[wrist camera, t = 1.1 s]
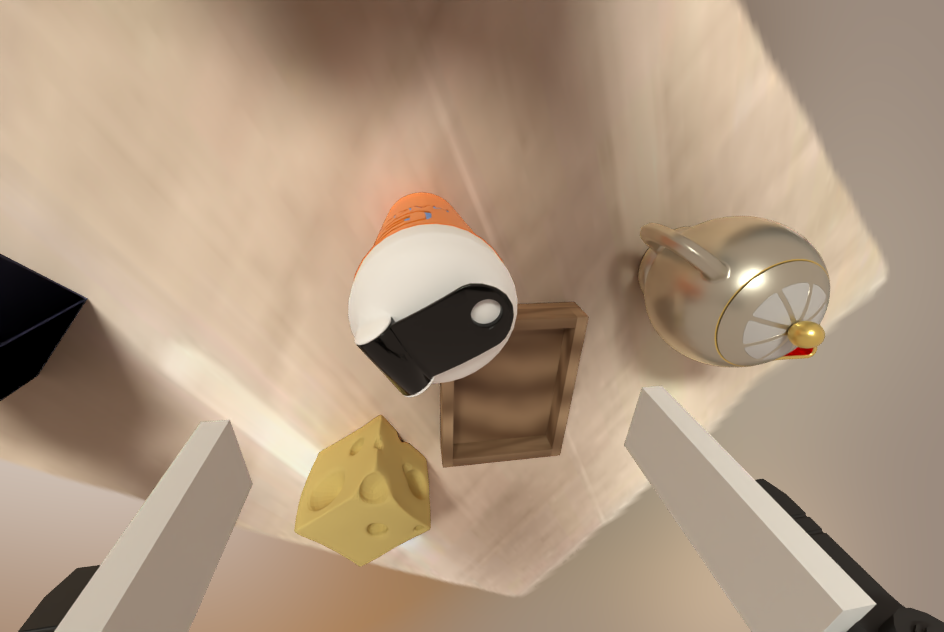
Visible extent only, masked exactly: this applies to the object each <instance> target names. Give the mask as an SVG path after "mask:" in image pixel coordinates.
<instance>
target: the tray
mask: <svg viewBox="0 0 944 632" xmlns="http://www.w3.org/2000/svg"><path fill="white" fill-rule="evenodd" d="M588 318H589V317H588V316H587V315H586V314H585V312H584V311H583V310H582V309H581V308H580V307H579V306H578V305H577V304H576V303H575V302H559V303H532V304H517V316H516V321H515V325H514V328H513V331H512V333H511V335H510V337H509V339H508V341H507V342H506V344H505V345H504V347H503V348H502V349H501V351H500V352H499V353H498V354H497V355H496V356H495V357H494V358H493V359H492V360H491V361H490V362H489V363H487V364H486V365H485V366H483V367H482V368H480V369H479V370H477V371H476V372H474V373H472V374H470V375H468V376H466V377H464V378H461V379H457V380H454V381H450V382H444V383H440V443H441V454H442V464H443V468H444V467H453V466H463V465H472V464H481V463H491V462H500V461H510V460H519V459H529V458H538V457H548V456H557V455H560V453H561V448H562V443H563V438H564V433H565V429H566V424H567V419H568V414H569V409H570V404H571V400H572V395H573V390H574V385H575V380H576V376H577V371H578V366H579V361H580V356H581V351H582V347H583V342H584V337H585V332H586V327H587V323H588Z"/></svg>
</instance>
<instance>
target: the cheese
mask: <svg viewBox="0 0 944 632" xmlns="http://www.w3.org/2000/svg"><path fill="white" fill-rule="evenodd" d="M430 528H431V519H430V499H429V480H428V470H427V463H426V458H425V457H424V456H423V455H421V454H420V453H419V452H418V451H417V450H416V449H415V448H414V447H412V446H411V445H410V444H409V443H406V442H401V441H400V440H399V438H398V434H397V431H396V430H395V429H394V428H393V427H392V426H391V425H390V424H389V423H388V421H387V420H386V419H385V418H384V417H383V416H382V415H379V416H377V417H376V418H374V419H373V420H371V421H370V422H369V423H367V424H366V425H365V426H363V427H362V428H360V429H358V430H357V431H355V432H353V433H352V434H350V435H348V436H347V437H345V438H343V439H342V440H340V441H338V442H337V443H335V444H333V445H331V446H330V447H328V448H326V449H324V450H322V451H321V452H319V454H318V456H317V459H316V461H315V463H314V465H313V467H312V469H311V471H310V473H309V476H308V478H307V481H306V483H305V486H304V489H303V491H302V494H301V498H300V501H299V505H298V511H297V516H296V522H295V530H294V531H295V532H296V533H297V534H299V535H301V536H303V537H306V538H308V539H310V540H313V541H315V542H318V543H320V544H322V545H324V546H326V547H328V548H330V549H332V550H334V551H335V552H337V553H339V554H341V555H342V556H344V557H346V558H347V559H349V560H351V561H352V562H354V563H355V564H357V565H358V566H363V565H365V564H367V563H369V562H371V561H373V560H375V559H376V558H378V557H380V556H381V555H383V554H385V553H386V552H388V551H390V550H391V549H393V548H395V547H397V546H398V545H400V544H402V543H404V542H406V541H408V540H410V539H412V538H414V537H416V536H418V535H420V534H422V533H424V532H426V531H428V530H430Z"/></svg>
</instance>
